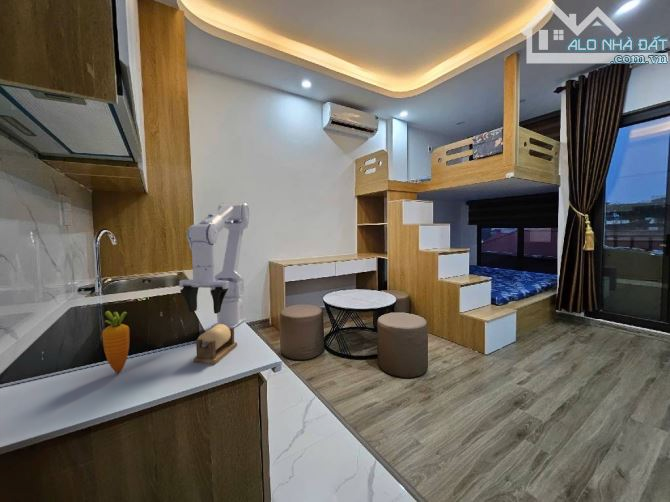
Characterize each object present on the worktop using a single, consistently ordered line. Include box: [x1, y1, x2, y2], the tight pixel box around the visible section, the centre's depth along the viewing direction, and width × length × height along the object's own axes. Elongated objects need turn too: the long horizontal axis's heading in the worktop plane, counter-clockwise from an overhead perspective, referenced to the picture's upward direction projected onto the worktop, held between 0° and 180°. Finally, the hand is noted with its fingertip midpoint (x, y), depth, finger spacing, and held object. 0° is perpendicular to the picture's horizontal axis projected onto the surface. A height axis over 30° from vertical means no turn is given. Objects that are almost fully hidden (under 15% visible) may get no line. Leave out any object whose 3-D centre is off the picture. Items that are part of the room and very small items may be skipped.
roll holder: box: [193, 327, 238, 365], centre depth 76 cm, size 6×11×6 cm, turn 171°
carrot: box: [101, 310, 130, 374], centre depth 66 cm, size 5×5×15 cm
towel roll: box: [197, 324, 231, 350], centre depth 76 cm, size 6×10×6 cm
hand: (205, 311), depth 83 cm, fingers open, 7 cm apart
